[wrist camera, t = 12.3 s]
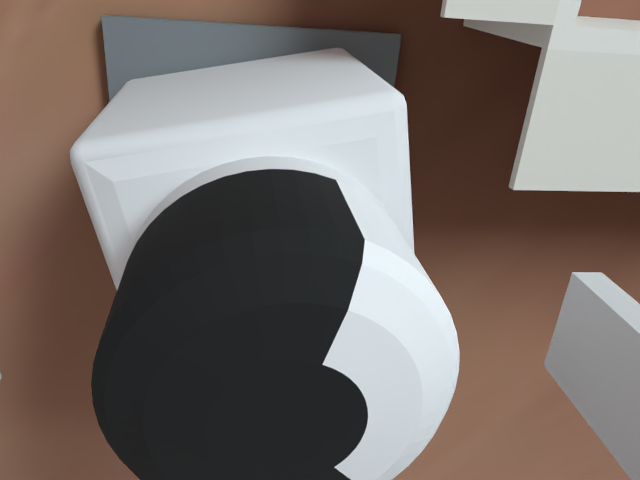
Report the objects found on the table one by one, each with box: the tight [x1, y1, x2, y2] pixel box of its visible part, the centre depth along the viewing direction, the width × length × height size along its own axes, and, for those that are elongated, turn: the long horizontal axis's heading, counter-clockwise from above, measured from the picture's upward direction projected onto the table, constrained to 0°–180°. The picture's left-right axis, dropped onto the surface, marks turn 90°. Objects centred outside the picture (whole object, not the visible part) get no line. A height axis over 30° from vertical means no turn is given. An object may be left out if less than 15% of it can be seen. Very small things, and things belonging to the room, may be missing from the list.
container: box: [70, 48, 459, 480], centre depth 15 cm, size 8×8×13 cm
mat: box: [101, 15, 401, 101], centre depth 21 cm, size 10×10×1 cm
